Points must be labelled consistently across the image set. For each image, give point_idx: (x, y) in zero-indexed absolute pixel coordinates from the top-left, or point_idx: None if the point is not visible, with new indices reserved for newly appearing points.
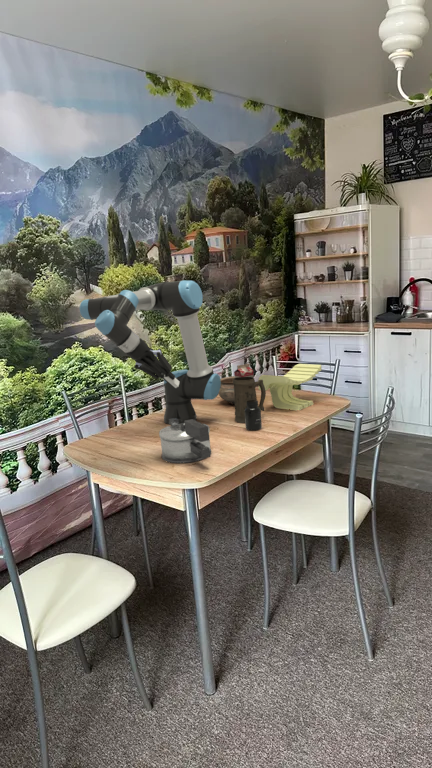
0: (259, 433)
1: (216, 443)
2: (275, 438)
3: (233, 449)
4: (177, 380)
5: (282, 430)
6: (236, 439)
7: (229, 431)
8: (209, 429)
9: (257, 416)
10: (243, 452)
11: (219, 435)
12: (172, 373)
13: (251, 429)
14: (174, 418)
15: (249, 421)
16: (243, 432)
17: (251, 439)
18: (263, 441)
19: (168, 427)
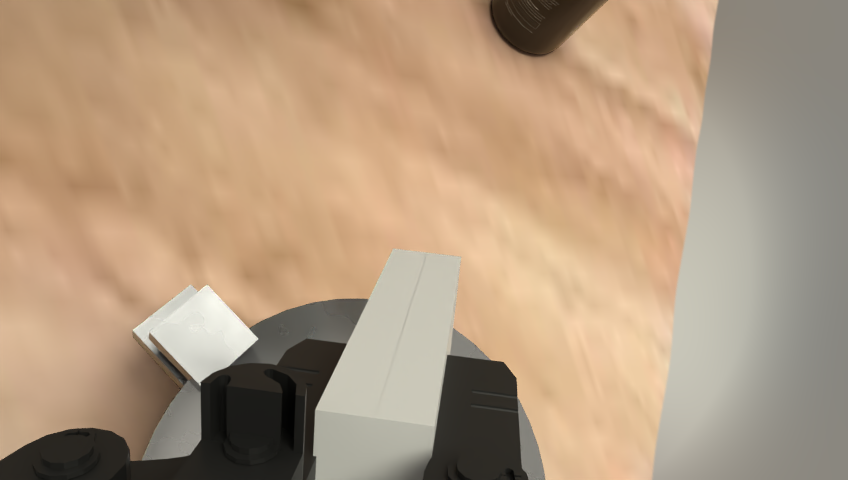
0: (575, 99)
1: None
2: (664, 184)
3: (543, 360)
4: (456, 290)
5: (653, 67)
6: (501, 189)
7: (418, 43)
8: (530, 441)
9: (601, 6)
10: (605, 405)
11: (386, 110)
12: (518, 419)
13: (533, 52)
14: (204, 308)
15: (550, 24)
16: (496, 72)
17: (571, 193)
18: (632, 227)
19: (182, 453)
